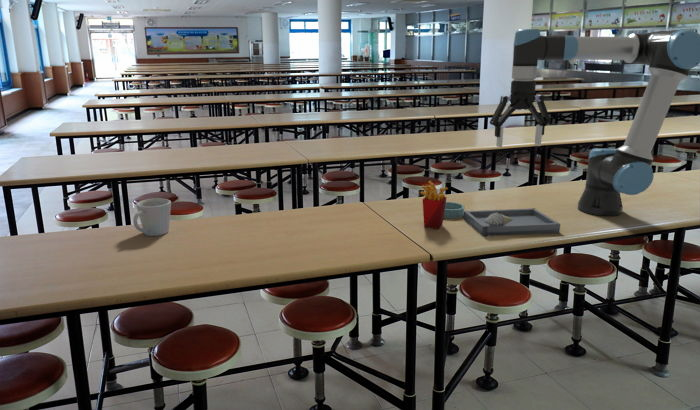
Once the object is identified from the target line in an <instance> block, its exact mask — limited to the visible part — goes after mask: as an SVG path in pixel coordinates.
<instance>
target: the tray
mask: <svg viewBox="0 0 700 410" xmlns="http://www.w3.org/2000/svg"><path fill="white" fill-rule="evenodd" d="M493 213H500V214H502V215H504V216H507V217H510V218H512V219H513V220H512V221H510V222H508V223H507V224H505V225H499V226H489V224H487V223H486V222H484V221H485V220H486V219H487V218H488V217H489V215H490V214H493ZM463 220H464V221H465V223H467V224H468V225H469V226H470V227H472V228H473V229H474V230H475V231H477V233H479V234H480V235H481V236H482V237H495V236H496V237H497V236H520V235H522V236H523V235H539V234H540V235H541V234H560V232H561V223H560V222H558V221H556V220H554V219H553V218H551V217H550V216H547V215H546V214H545V213H543V212H541V211H540V210H538V209H537V208H535V207H534V208H533V207H532V208H531V207H530V208H515V209H514V208H513V209H512V208H511V209H510V208H508V209H485V210H483V209H482V210H464V216H463Z"/></svg>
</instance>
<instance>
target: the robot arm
mask: <svg viewBox="0 0 700 410" xmlns="http://www.w3.org/2000/svg"><path fill="white" fill-rule="evenodd" d="M512 54H513V55H512V56H513V57H512V68H511V69H512V70H511V79H512V80H511V81H510V95H509V96H507V95H501V96H500V101H499V103H498V105H497V107H496V109H495V111H494V113H493V115H492V117H491V119H490V121H489V125H492V126H494V136H495V137H496V147H497V148H503V139H504V127H503V124H505V122H507V120H508V119H509V118H510V117H511V116H512V114H513V113H514V112H515V111H517V110H519V111H521V110H525V111H526V110H527V111H529V113H531V115H532V116H533V118H534V119H535V121H536V122H537V124H536V126H535V133H534V134H535V135H534V137H535V138H534V145H535V146H537V147H541V146H542V136H544V135H545V127H546V126H547V125H548V124H551V122H552V120H551V118H550V115H549V112H548V109H547V107H546V104H545V95H542V94H537V95H535V92H536V87H537V86H536V85H537V82H536V79H537V76H538V75H537V73H538V61H571V60H573V61H574V60H577V61H578V60H581V61H587V60H590V61H593V60H594V61H595V60H597V61H601V60H602V61H624V62H625V63H627V64H639V65H643V66H644V65H645V66H649V67H648V68H647V69H648V71H649V72H650V77H649V80H648V82H647V85H646V88H645V91H644V93H643V95H642V97H641V100H640V102H639V105H638V108H637V110H636V113H635V115H634V118H633V120H632V123H631V124H630V128H629V130H628V133H627V135H626V139H625V141H624V142H623V145H621V146H620V147H618V148H593V149H591V150H590V152H589V155H588V161H587V162H588V163H587V171H586V180H585V186H584V189H583V191H582V194H581V196H580V197H579V200H578V202H577V209H578V210H579V211H580V212H584V213H586V214H588V215H589V214H590V215H593V216H594V215H595V216H596V215H597V216H605V217H606V216H607V217H608V216H610V217H614V216H615V217H616V216H618V215H621V214H622V213H623V207H624V206H623V201H622V197H621V194H625V195H628V196H634V195H635V196H636V195H639V194H641V193H644V192H645V191H647V189H649V187H650V186H651V185H652V183H653V180H654V177H655V175H654V174H655V173H654V172H653V168H652V164H653V162H654V157H653V155H652V150H653V149H654V146H655V143H656V141H657V138H658V136H659V134H660V132H661V128H662V126H663V124H664V121H665V119H666V116H667V114H668V112H669V110H670V107H671V104H672V102H673V99H674V96H675V94H676V92H677V89H678V87H679V85H680V82H682V81H683V80H685V79H687V78H688V77H689V74H690V72H691V70H692V69H694V68H695V67H696V66H699V65H700V33H699V32H697V31H695V30H690V29H681V28H680V29H677V30H671V29H670V30H658V31H651V32H644V33H631V34H629V35H628V36H575V35H567V34H564V35H541V29H539V28H520V29H517V30H516V31H515V33H514V40H513V53H512ZM509 102H510V103H509ZM534 102H536V104H537V107H538V110H539V111H538V110H537V109H536V106H535V105H534ZM508 103H509V105H508V106H507V104H508ZM506 106H507V109H506V110H505V108H506ZM504 110H505V111H504ZM503 111H504V112H503ZM539 112H540V113H539Z"/></svg>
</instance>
